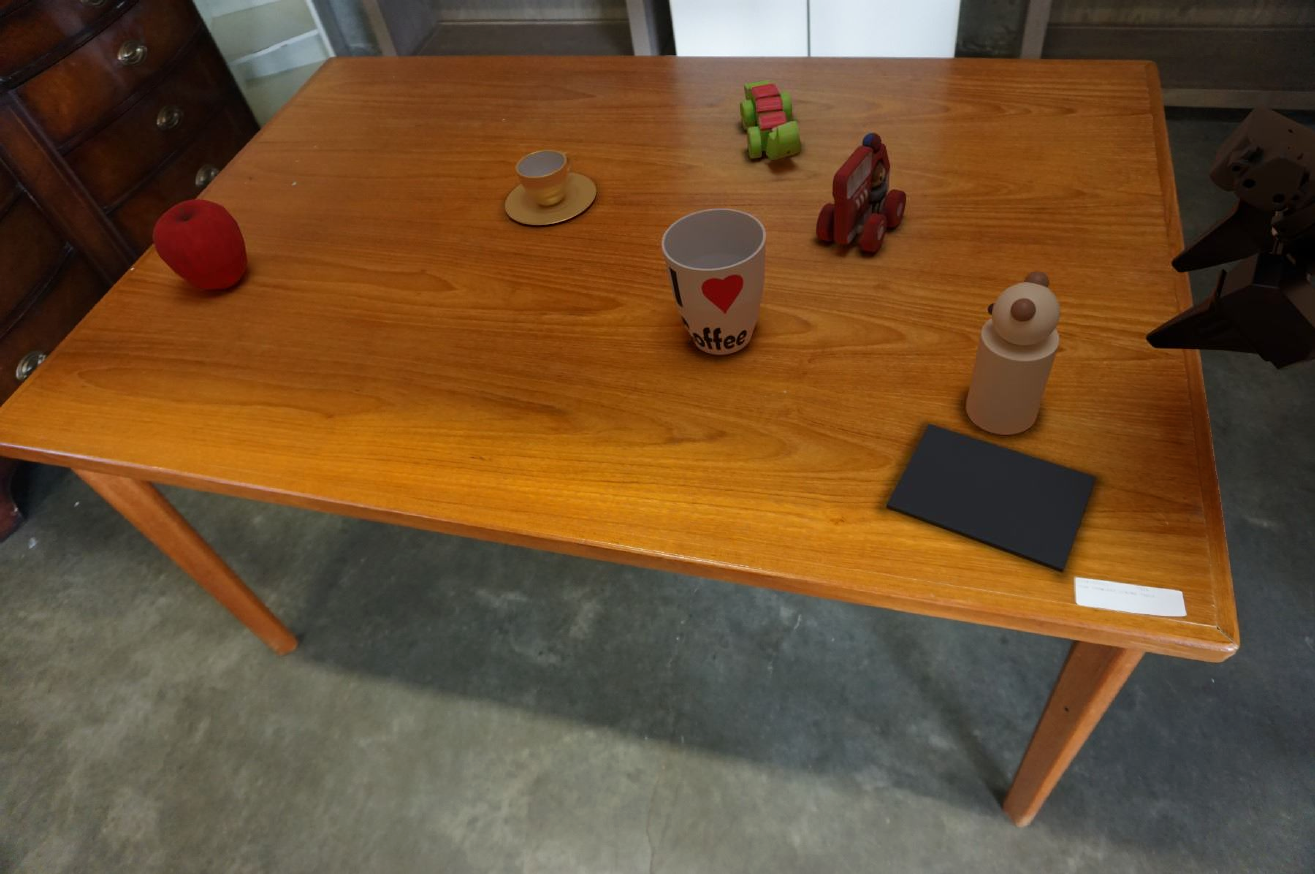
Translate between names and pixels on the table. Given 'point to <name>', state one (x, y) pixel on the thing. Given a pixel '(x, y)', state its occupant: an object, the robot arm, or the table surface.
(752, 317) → the cup
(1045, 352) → the bear
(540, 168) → the cup
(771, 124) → the toy crocodile
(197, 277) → the apple
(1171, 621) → the table surface
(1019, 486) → the mat
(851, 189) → the toy fire truck
